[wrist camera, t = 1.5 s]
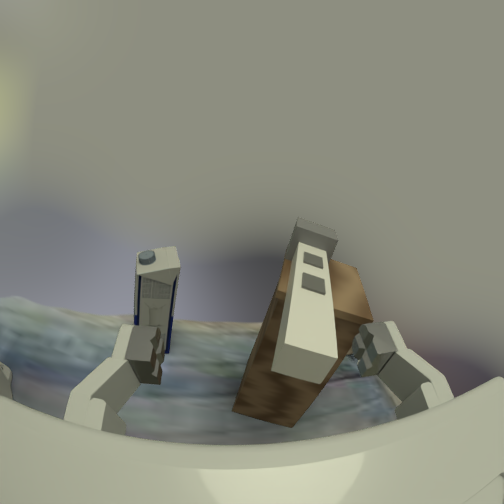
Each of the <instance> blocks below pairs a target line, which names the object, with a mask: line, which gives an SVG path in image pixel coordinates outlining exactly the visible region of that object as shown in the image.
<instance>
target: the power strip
mask: <svg viewBox="0 0 504 504" xmlns="http://www.w3.org/2000/svg"><path fill="white" fill-rule="evenodd" d="M337 242H338V239H337V235H336V232H335V230H333V229H330V228H328V227H325V226H322V225H319V224H316V223H313V222H310V221H308V220H304V219H302V218H297V222H296V224H295V227H294V230H293V233H292V236H291V239H290V242H289V244H288V248H287V252H286V257H285V259H287V260H290V261H292V263H291V269H290V275H289V280H288V286H287V292H286V297H285V303H284V308H283V313H282V319H281V324H280V329H279V334H278V339H277V344H276V349H275V354H274V359H273V364H272V368H271V371H274V372H277V373H280V374H284V375H287V376H291V377H294V378H298V379H302V380H305V381H309V382H313V383H317V384H321V383H322V381H323V380H324V378H325V377H326V375H327V374H328V372H329V371H330V369H331V368H332V367H333V365H334V363H335V362H336V360H337V359H338V354H337V341H336V329H335V319H334V309H333V300H332V291H331V283H330V275H329V268H328V264H329V262H330V259H331V257H332V255H333V252H334V250H335V247H336V245H337Z"/></svg>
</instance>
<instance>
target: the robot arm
mask: <svg viewBox="0 0 504 504" xmlns="http://www.w3.org/2000/svg"><path fill="white" fill-rule="evenodd" d="M358 330H359V334H357V335H356V336H355V337H354V339H353V342H352V351H353V355H354V357H355V358H357V359H358V360H359V361H358V363H357V367H358V370H359V373H360V376H361V377H367V376H373V375H377V376H378V377H379V378H380V379H381V380H382V381H383V382H384V383H385V384H386V385H387V386H388V387H389V388H390V389H391V391H392V392H393V393H394V394H395V395H396V396H397V397H398V398H399V399H400V400H401V401H402V403H401V404H400V405H399V406H398V407H396V409H395V413H396V417H397V420H395V421H392V422H388V423H385V424H381V425H378V426H374V427H370V428H366V429H362V430H358V431H353V432H349V433H344V434H339V435H334V436H328V437H323V438H316V439H310V440H302V441H294V442H284V443H273V444H257V445H201V444H185V443H173V442H164V441H156V440H149V439H142V438H136V437H130V436H125V432H126V424H125V422H124V421H123V420H122V419H121V418H120V417H119V416H118V415H117V413H118V412H119V410H120V409H121V408H122V407H123V405H124V404H125V403H126V402H127V400H128V399H129V398H130V397H131V396H132V394H133V393H134V392H135V391H136V389H137V388H138V387H139V386H140V385H141V384H140V383H144V384H156V385H160V384H161V377H162V369H161V366H160V365H161V364H162V363H163V362H164V356H165V347H164V341H163V339H162V338H160V336H161V331H160V328H158V327H148V326H138V325H128V324H123V325H122V326H121V327H120V330H119V333H118V337H117V340H116V343H115V347H114V350H113V354H112V357H111V358H110V357H108V358H107V359H106V360H105V361H104V362H102V363H101V364H100V365H99V366H98V367H97V368H96V369H95V370H94V371H93V372H91V373H90V374H89V375H88V376H87V377H86V378H85V379H84V380H83V381H82V382H81V383H80V384H78V385H77V386H76V387H75V388H74V389H73V390H72V391H71V394H70V397H69V401H68V404H67V408H66V412H65V416H64V420H62V419H59V418H56V417H53V416H51V415H48V414H45V413H42V412H40V411H37V410H35V409H32V408H30V407H27V406H25V405H22V404H20V403H18V402H16V401H14V400H13V397H12V392H11V380H12V372H11V370H10V369H9V367H7V366H6V365H4V364H3V363H1V362H0V504H504V379H503V378H502V377H496V378H494V379H491V380H490V381H488V382H486V383H484V384H482V385H480V386H478V387H477V388H475V389H473V390H471V391H469V392H467V393H464V394H462V395H460V396H458V397H456V398H454V397H453V394H452V392H451V390H450V387H449V385H448V383H447V381H446V378H445V376H444V375H443V374H441V373H440V372H439V371H438V370H436V369H435V368H434V367H433V366H431V365H430V364H429V363H427V362H426V361H425V360H424V359H422V358H421V357H420V356H418V355H417V354H416V353H415V352H413V351H412V350H411V349H407V347H406V345H405V343H404V341H403V339H402V337H401V335H400V333H399V331H398V329H397V327H396V325H395V323H394V322H393V321H387V322H377V323H368V324H362V325H361V326H360V328H359V329H358Z"/></svg>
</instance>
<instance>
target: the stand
mask: <svg viewBox="0 0 504 504" xmlns="http://www.w3.org/2000/svg"><path fill="white" fill-rule="evenodd" d="M287 248H288V247H287ZM286 252H287V249H286ZM285 257H286V254H285ZM291 263H292V261H290V260H287V259H285V258H284V262H283V266H282V271H281V275H280V279H279V281H278V284H277V287H276V289H275V292H274V295H273V298H272V300H271V303H270V305H269V308H268V311H267V313H266V316H265V318H264V321H263V324H262V326H261V329H260V331H259V334H258V337H257V339H256V342H255V344H254V347H253V349H252V352H251V354H250V357H249V359H248V362H247V366H246V369H245V372H244V375H243V378H242V381H241V384H240V387H239V390H238V393H237V396H236V400H235V403H234V406H233V409H232V411H233V412H236V413H239V414H243V415H246V416H249V417H253V418H256V419H259V420H263V421H267V422H270V423H274V424H278V425H282V426H286V427H291V428H292V427H293V426H294V425H295V424H296V422H297V421H298V420H299V419H300V418H301V416H302V415H303V414H304V413H305V411H306V410H307V409H308V408H309V406H310V405H311V404H312V402H313V401H314V400H315V398H316V397H317V396H318V394H319V393H320V392H321V390H322V389H323V388H324V386H325V385H326V384H327V382H328V381H329V379H330V378H331V376H332V375H333V374H334V372H335V371H336V369H337V368H338V366H339V365H340V363H341V362H342V360H343V359H344V357H345V356H346V354H347V353H348V351H349V350H350V348H351V347H352V342H353V339H354V337H355V336H356V335H357V334H359V330H358V329H359V328H360V326H361V325H362V324H368V323H372V322H373V318H372V314H371V311H370V307H369V304H368V301H367V298H366V295H365V292H364V289H363V286H362V283H361V280H360V277H359V274H358V271H357V268H355V267H352V266H349V265H346V264H343V263H340V262H338V261H334V260H332V259H330V262H329V264H328V268H329V275H330V283H331V291H332V300H333V309H334V319H335V329H336V341H337V354H338V359H337V360H336V362H335V363H334V365H333V367H332V368H331V369H330V371H329V372H328V374H327V375H326V377H325V378H324V380H323V381H322V383H321V384H317V383H313V382H309V381H305V380H302V379H298V378H294V377H291V376H287V375H284V374H280V373H277V372H274V371H271V368H272V364H273V359H274V354H275V349H276V344H277V339H278V334H279V329H280V324H281V319H282V313H283V308H284V303H285V297H286V292H287V286H288V280H289V275H290V269H291Z"/></svg>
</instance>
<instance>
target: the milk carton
mask: <svg viewBox="0 0 504 504" xmlns="http://www.w3.org/2000/svg"><path fill="white" fill-rule="evenodd" d="M180 267H181V266H180V262H179V258H178V254H177V250H176V247H175V246H174V247H163V248H158V249H153V250H147V251H142V252H137V259H136V273H135V293H134V294H135V295H134V325H138V326H148V327H158V328H160V331H161V336H160V338H162V339H163V341H164V347H165V353H169V349H170V340H171V331H172V323H173V315H174V308H175V300H176V293H177V287H178V280H179V274H180Z"/></svg>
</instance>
